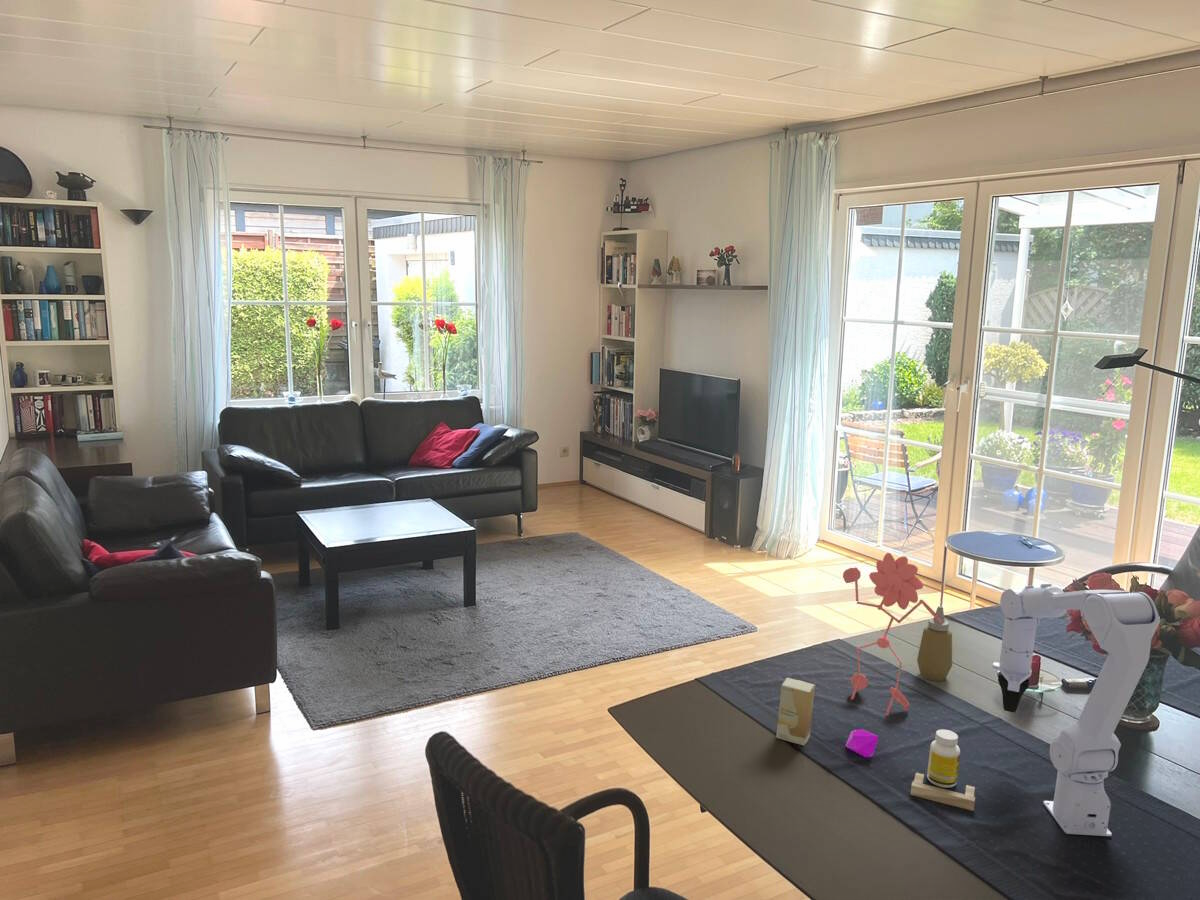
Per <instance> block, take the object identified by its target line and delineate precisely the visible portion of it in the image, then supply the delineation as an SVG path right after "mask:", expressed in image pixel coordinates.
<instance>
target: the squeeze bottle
mask: <svg viewBox="0 0 1200 900" xmlns="http://www.w3.org/2000/svg"><path fill="white" fill-rule="evenodd" d="M935 613H936V614H937V615H938V617H939V618H940V619H941V621H942V622H943V624H941V623H940V622H939V621H938V620H937V619H936V618H935V617H934V616H933V617H931V618H929V619H928V622H927V626H926V627H924V628H923V632H922V635H921V641H920V643H919V644H920V645H919V649H918V654H917V657H916V661H917V666H918V669H919V673H920V676H922V678H924V679H925V680H929V681H933V682H942V681H946V679H947V676H948V674H949V672H950V671H951V669H952V667H953V633H952V631H951V630H950V629H949V628H950V627H949V626H950V622H949V621H948V620H946V619H945V614H944V607H943V606H938V605H937V608H936V611H935Z"/></svg>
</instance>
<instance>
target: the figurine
mask: <svg viewBox="0 0 1200 900" xmlns="http://www.w3.org/2000/svg"><path fill="white" fill-rule="evenodd" d="M875 565H876V570H877V571H873V572H870V573H869V575H868V576H869V580H870V581H871V582H872V583H873V584H874V585H875V587H874V590H873V591H874V594H876V595H877V596H879V597H883V598H882V600H881V602H880V603H879V604H874V603H873V604H872V603H870V602H869V603H867V602H862V601H859V585H858V580H859V579H861V576H862V575H861V571H860V570H859V569H858V567H856V566H855V567H849V568H848V569H845V570H844V571H843V574H842V579H843V580H844V582H845V583H846V584H850V583H854V584H855V587H854V589H855V602H856V605H862V606H867V607H872V608H873V607H874V608H877V610H878V611H882V612H883V613H885V614H886V615H887V616H888V617H890V620H889V623H888V625H887V627H886V630H885V633H884V635H883V636H879V637H878V638H877V640H876V641H875V642H872V643H868V644H866V645H862V646H859V647H857V648H856V655H857V666H858V668H857V669H858V673H854V675H852V677H851V679H850V683H851V685H852V687H853V692H852V694H851V696H850V700H851V699H853V700H854V699H855V696H856V693H857V692H860V691H862V690H863V689H866V687H867V686H868V685H869V684H868V683H869V681H868V678H867V676H866V675H864V674H862V673H861V664H860V663H861V661H860V652H859V650H860V649H863V648H866V647H869V646H874V645H877V646H878V647H879V648H880V649H887V648H889V649H890V651H891V652H892V653H893V655H894V656H895V658H896V659H897V660H898V662H899V667H898V673H897V678H896V685H895V687H894V688H893V686H891V687H889V688H890V689H889V690H890V693H891V695H892V696H891V697H890V698H891V699H890V701H889V704H888V707H887V709H886V712H885V716H887V715H888V716H889V714H890V711H891V709H892V706H893V703H894V700H896V701H897V703H898V704H899V705H901V706H902V708H904V709H905V710H906V711H909V710H910V703H909V701H908V699H906V697H905V695H904V694H903V693H902V692H900V690H898V688H899V687H898V686H899V681H900V675H901V670H902V664H903V663H902V660H901V659H900V658H899V657H898V655H897V653H896V652H895V651H894V650H893V648H892V646H891V645H890V639H889V638H888V637H887V635H888V632H889V630H890V628H891V626H892V624H893V622H894V621H895V622H896V623H898V624H900V623H901V622H902V621H904V620H905V619H906V618H907V617H908V616H909V615H910V614H912V613H913V612H914V611H915V610H916V609H917V608H918V607H920V606H921V605H922V606H924V608H925V609H926V610H927V611H928V612H929V613H930V614H931V615H932V617H933V618H934V617H935V618H936V619H937V620H938V621H939V622H940V623H941V624H943V622H942V621H941V619H940V618H939V617H938V615H937V614H936V611H934V609H933V608H931V606H929V605H928V604H927V602H925V600H924V599H923V598H921V599H919V596H918V593H917V590H921V589H923V588H924V584H923V582H922V581H921V579H920V578H919V577H917V576H916V575H917V573H918V572H919V571H918V570H919V569H918V566H916V565H915V564H913V563H909V558H908V557H907V556H905V555H903V556H900V557H897V558H896V559H895V558H894V556H893V554H892V553H890V552H887V553H885V555H884V556H883V559H882V560H881V559H878V560H877V561H876V563H875ZM918 601H919V602H918ZM896 603H897V605H898V607H899V608H900V609H901V610H906V609H907V608H908V606H909V604H910V603H913V604H915V605H914V606H913V607H912V608H911V609H910V610H908V612H906V613H905V614H904V615H903V616H902V617H901V618H900V619H898V618H896V617H895V616H894V615H893V614H891V613H890V612H888V610H886V609H884V608H883V606H884V607H887V608H889V607H892V606H894V605H895V604H896ZM857 690H858V691H857ZM913 725H915V724H914V723H912V724H909V725H908V727H910V726H913Z"/></svg>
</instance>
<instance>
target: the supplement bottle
mask: <svg viewBox="0 0 1200 900" xmlns="http://www.w3.org/2000/svg"><path fill="white" fill-rule="evenodd" d="M934 737H935V740H933V741H931V743H930V747H929V754H928V755H929V757H928V764H927V771H926V773H927V774H926V778H927V780H928V781H929V782H930V783H931V784H932V785H935V787H938V788H944V789H946V788H954V787H955V786H956V785H957V781H958V775H959V774H958V773H959V766H960V765H959V764H960V758H961V757H960V756H961V749H960V747H959V745H958V742H959V735H958V734H957V733H956V732H954V731H952V730H949V729H938V730H936V732H935V736H934Z"/></svg>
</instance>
